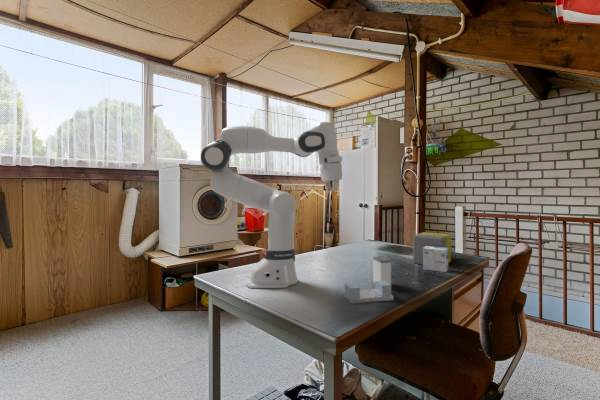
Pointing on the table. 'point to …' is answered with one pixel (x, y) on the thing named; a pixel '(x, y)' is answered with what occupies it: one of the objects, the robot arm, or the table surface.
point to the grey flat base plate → (368, 297)
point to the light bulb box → (435, 258)
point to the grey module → (381, 269)
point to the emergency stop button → (429, 244)
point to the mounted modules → (380, 287)
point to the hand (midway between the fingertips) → (332, 191)
